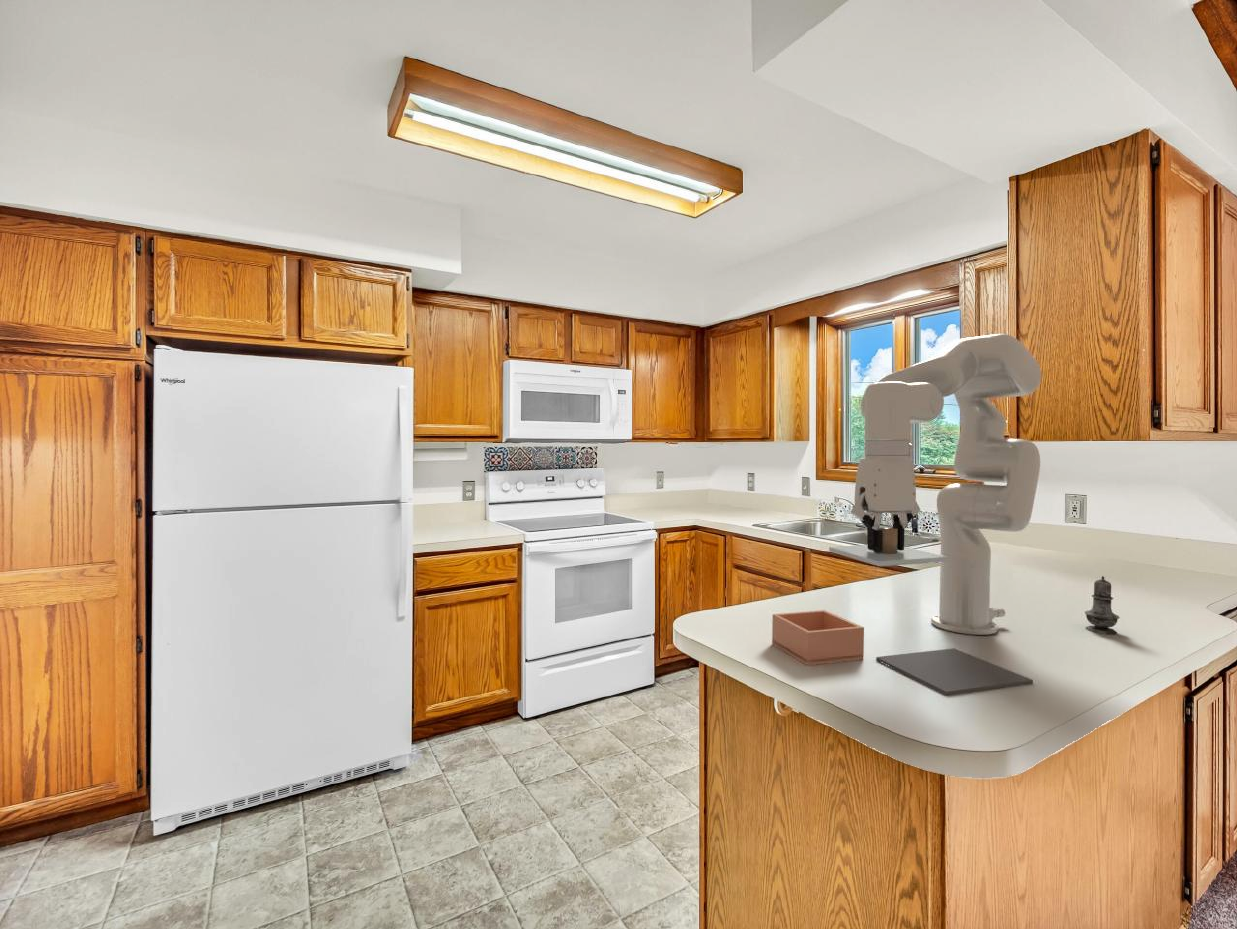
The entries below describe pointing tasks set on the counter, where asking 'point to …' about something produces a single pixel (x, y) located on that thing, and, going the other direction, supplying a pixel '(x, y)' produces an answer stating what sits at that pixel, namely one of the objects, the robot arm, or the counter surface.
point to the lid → (888, 552)
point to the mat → (953, 671)
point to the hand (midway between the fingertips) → (885, 548)
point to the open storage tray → (818, 637)
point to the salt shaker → (1102, 609)
